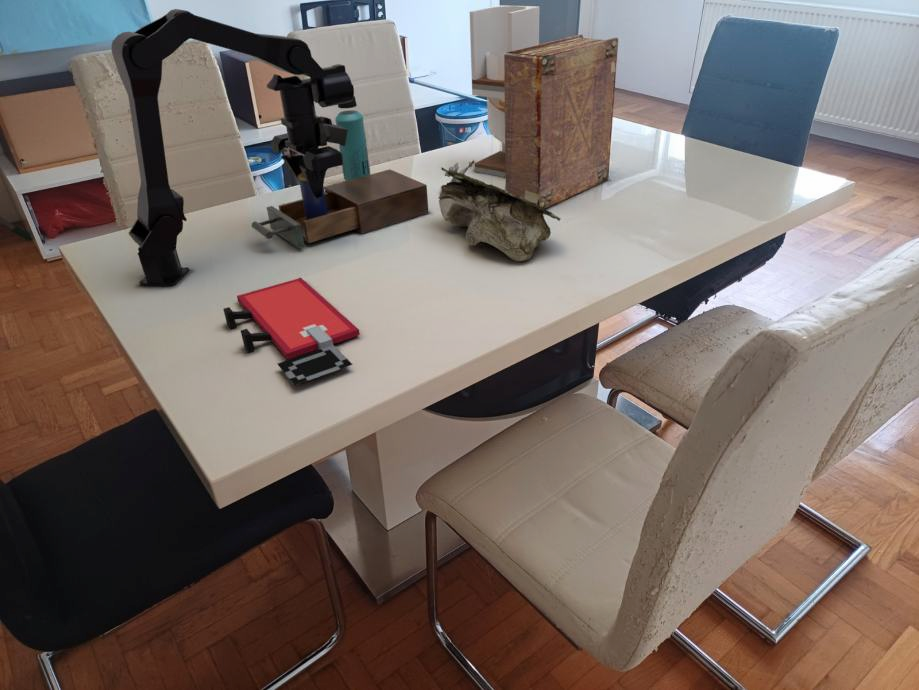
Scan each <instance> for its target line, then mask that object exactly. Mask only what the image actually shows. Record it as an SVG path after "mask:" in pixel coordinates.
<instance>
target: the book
mask: <svg viewBox="0 0 919 690" xmlns="http://www.w3.org/2000/svg"><path fill="white" fill-rule="evenodd" d="M618 49H619V38H618V37H612V38H608V39H607V38H606V39H601V38H600V39H597V38H586V37H584V35H583V34H577V35H572V36H569V37H564V38H561V39H557V40H552V41H549V42H544V43H539V45H536V46H532V47H527V48H523V49H519V50H515V51H511V52H507V53H505V54H504V82H505V175H506V177H505V191H507V192H509V193H511V194H513V195H516V196H520V197H523V198H524V199H526V200H528V201H530V202H532V203H536V204H537V205H539V206H541V207H542V208H544V209H546V210H547V209H549V208H551V207H553V206H555V205H558V204H560V203H562V202H564V201H567V200H569V199H571V198H573V197H575V196H577V195H579V194H582V193H583V192H586V191H587V190H590V189H592V188H595V187H597V186H598V185H601V184H603V183H605V182H607V181H609V176H610V165H611V163H610V162H611V161H610V160H611V148H612V147H611V146H612V135H613V119H614V105H615V90H616V78H617V77H616V76H617V75H616V74H617V63H618Z"/></svg>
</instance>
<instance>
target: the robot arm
mask: <svg viewBox="0 0 919 690" xmlns="http://www.w3.org/2000/svg"><path fill="white" fill-rule="evenodd" d="M188 40H195V41H198V42H202V43H205V44H209V45H213V46H216V47H218V48H219V47H220V48H223V49H227V50H231V51H233V52H237V53H240V54H245V55H248V56H251V57H252V58H254V59H257V60H259V62H262V63H263V64H266V65H268V66H270V67H272V68H274V69H276V70H278V71H281V72H285V73H288V74H291V76H284V77H282V76H281V75H279V74H276V73H274V74H273V75H272V78H271V79H270V81H268V83H267V84H266V88H267V89H269V90H272V91H274V92H279V96H280V102H281V106H282V113H283V117H281V118H280V123H281V125H283V126H285V128H286V133H281V134H277V135H274V136H273V138H272V139H271V140H270V143H271V150H272V152H274V153H275V154H282V151H283V152H284V153H283V155H281V159H282V160H283V162H284V163H285V164H286V166H287V167H288V168H289V170H290V172H291V173H292V175H293V176H294V177H295V179H296V180H297V182H298V183H299V184H300V182H299V179H298V175H299V174H300V173H302V172H303V174H304V176H305V178H306V180H307V182H308V184H309V186H310V188H311V190H312V192H313V194H314V195H315V197H316V198H320V197H321V196H322V190H323V186H324V183H325V177H326V174H327V171H328V169H332V168H336V167H341V166H342V165H343V164H344V162H343V155H342V153H341V152H339V151H340V150H338V149H337V148H335V147H332V146H329V145H328V143H331V144H335V145H339V144H340V145H341V146H345V145H346V139H347V134H348V129H346V128H343V127H341V126H337V125H336V124H334V123H333V120H332V119H331V118H329V117H327V116H322V115H320V116H318V115H317V113H316V107H315V106H316V105H315V104H318V105H319V107H320V108H329V107H334V106H338V105H339V104H344V103H349V102H351V101H352V100H353V97H354V96H355V88H354V85H353V83H352V80H351V78H350V76H349V74H348V73H347V71H346V66H345V65H344V64H339V63H338V64H333V65H330V66H327V67H322V66H320V64H319V63H318V62H317V61H316V60H315V59H314V58H313V56H312V52H311V49H310V47H309V45H308V43H306V42H305V41H303V40H301V39H297V38H294V37H289V36H284V35H277V34H275V35H274V34H267V33H266V34H265V33H255V32H252V31H249V30H245V29H242V28H238V27H235V26H232V25H229V24H225V23H223V22H219V21H216V20H212V19H209V18H206V17H202V16H199V15H196V14H195V13H192V12H190V11H188V10H185V9H179V8H174V9H173V8H172V9H171V10H169V11H168V12H167V13H166V14H164V15H163V16H161V17H160V18H157V19H156V20H153V21H151V22H150V23H148V24H146V25H144V26H141V27H140V28H138V29H136V31H124V32H123V31H122V32H121V33H119V34H117V35H116V37H115V38H114V39H113V40H112V42H111V54H112V57H113V61H114V63H115V66H116V70H117V73H118V76H119V78H120V80H121V82H122V84H123V86H124V89H125V91H126V95H127V97H128V104H129V110H130V116H131V124H132V131H133V136H134V137H133V138H134V144H135V151H136V158H137V163H138V164H137V165H138V170H139V176H140V177H139V178H140V187H139V192H138V195H137V206H136V208H137V209H136V212H137V213H136V215H137V219H136V220H135V222H134V223H133V225H132V227H131V228H130V229H129V231H128V236H129V237H130V238H131V239H132V240H133V241H134V243H135V244H137V245H138V246H139V247H138V248H137V250H138V251H137V256H138V259H139V262H140V266H141V268H142V272H143V274H144V277H143V278H142V279H141V280H140V281H139V282H138V283H139V286H152V287H153V286H154V287H157V286H158V287H173V286H175V285H176V284H177V283H178V282H180V280H181V279H182V278H183V277H184V276H186V275H187V274H188V273H189V272H190V267H187V266H186V267H184V266H183V267H182V264H181V260H180V258H179V253H178V251H177V243H178V236H179V235H180V234H181V232H183V229H184V222H187V220H188V219H187V217H186V216H185V213H184V206H185V205H184V203H185V201H184V196H182V195H181V194H180V193H178V192H177V191H176V190H175V189H173V188H171V186H170V182H169V175H168V167H167V158H166V152H165V151H166V150H165V144H164V136H163V128H162V120H161V113H160V106H159V92H160V88H161V84H162V78H163V77H162V76H163V60H165V59H166V58H168V57H170V56H171V55H173V53H175V52H176V51H177V50H178V49H180V47H181V46H182V45H183V44H184V43H185V42H187V41H188ZM301 75H302V76H306V77H309V78H305V79H301V78H300V77H299V76H301Z"/></svg>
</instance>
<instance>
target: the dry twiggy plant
mask: <svg viewBox="0 0 919 690" xmlns="http://www.w3.org/2000/svg"><path fill="white" fill-rule="evenodd" d="M474 163H476V161H475V160H472V161H469V162H468V165H467V166H466V167H463V168H462V169H461V170H459V168H460V166H459V162H455V163H454V164H453V166H449V167H448V170H450V171H451V170H453V171H456V172H458V173H462V174H464V175H466V173H467V171H468V170H469V169H470V168H471V167H472V166H474ZM458 170H459V171H458ZM447 176H449V177H448V178H450V177H451V176H450V175H449V174H447V172H446V171H445V173H444V177H447ZM449 182H461V181H460V180H459V181H458V179H455V178H454V177H451V180H450V181H449Z"/></svg>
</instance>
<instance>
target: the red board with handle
mask: <svg viewBox="0 0 919 690" xmlns="http://www.w3.org/2000/svg"><path fill="white" fill-rule="evenodd" d="M236 299H237V302H238V304H239V305H240V306H241V307H242V308H243V309H244V310H240V311H239V310H238V311H233V310H232V309H231V307H230V306H228V307H224V308H223V315H224V317H225V323H226V325H227V326H228V328H229V329H230V330H233V329H237V322H236V320H253V321H254V322H255V323H256V324H257V325H258V326H259V328H260V329H261V330H262V331H263V332H252V333H251V331H249V329H248V328H244V329H241V330H240V334H241V339H242V343H243V347H244V349H245V350H246V351H247V352H248V353H252V352H253V351H256V350H255V349H256V348H255V346H254V343H257V342H269V341H271V342H272V343H273V344H274V345H275V346H276V348H277V349H278V350H279V352H281V353H282V354H283V356H284V357H285V358H286V360H284V361H280V362H278V363H277V366H278V367H279V368H280V370H281V371H282V372H283V373H284V375H285V376H286V377H287V378H288V379H289V381H290V382H291V383H292V385H294V386H297V385H300V384H303V383H305V382H308V381H311V380H313V379H316V378H319V377H322V376H325V375H328V374H330V373H334V372H336V371H339V370H341V369H344V368H347V367H350V366H353V362H351V361H350V360H349V359H348V358H347V357H346V356H345V355H344V354H343V353H342V352H341V351H340V350H339V349H338V347H336V346H335V345H334V344H337V343H340V342H341V343H342V342H343V341H346V340H349V339H353V338H355V337H359V336H361V334H360V329H359V328H358V327H357V326H356V325H354V323H353V322H351V321H350V320H349V319H348V318H347V317H346V316H344V315H343V314H342V313H341V312H340V311H339V310H338V309H337V308H335V306H333V305H332V304H331V303H330V302H329V301H328V300H327V299H325V298H324V297H323V296H322V295H321V294H320V293H319V292H318V291H316V290H315V289H314V288H313V287H312V286H311V285H310V284H309V283H307V282H306V281H305V280H304V279H303V278H302V277H298V278H295V279H291V280H288V281H284V282H281V283H276V284H274V285H270V286H266V287H263V288H259V289H255V290H253V291H248V292H245V293H241V294H239V295H236Z"/></svg>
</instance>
